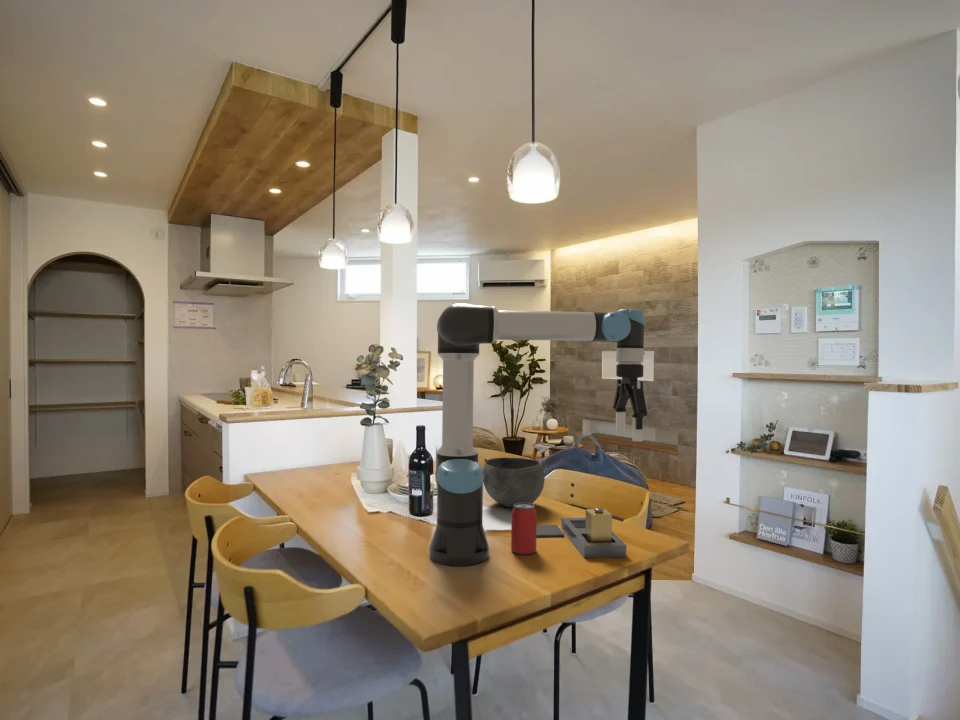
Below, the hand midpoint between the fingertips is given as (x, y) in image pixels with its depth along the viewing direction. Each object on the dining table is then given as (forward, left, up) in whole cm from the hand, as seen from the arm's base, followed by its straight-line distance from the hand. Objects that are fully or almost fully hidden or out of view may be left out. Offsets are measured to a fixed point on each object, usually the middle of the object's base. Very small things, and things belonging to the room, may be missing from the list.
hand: (628, 437), depth 159 cm
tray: (-12, -5, -28) cm, 31 cm away
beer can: (-32, -11, -28) cm, 44 cm away
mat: (-23, +4, -28) cm, 37 cm away
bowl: (-28, +32, -28) cm, 51 cm away
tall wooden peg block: (-12, -11, -28) cm, 33 cm away
